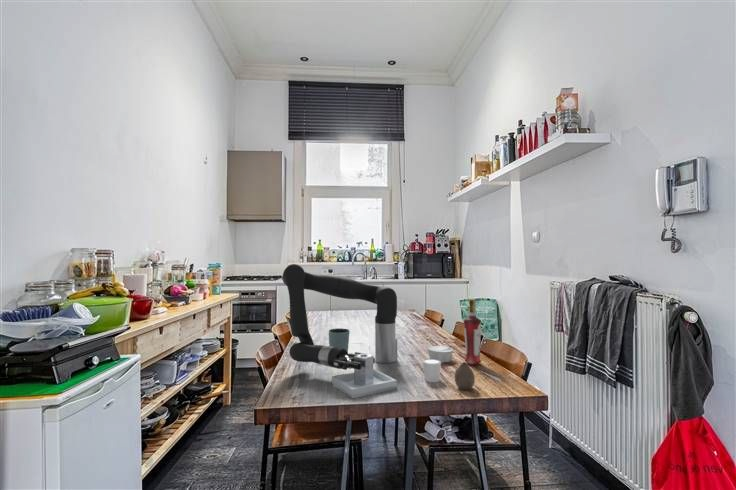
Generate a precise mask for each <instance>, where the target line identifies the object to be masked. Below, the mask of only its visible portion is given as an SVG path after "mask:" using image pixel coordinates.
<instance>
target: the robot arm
mask: <svg viewBox="0 0 736 490" xmlns="http://www.w3.org/2000/svg"><path fill="white" fill-rule="evenodd" d="M281 277H282V278H281V279H282V282H283V284H284V285H286V286H287V290H288V297H289V320H290V323H289V324H290V330H291V336H293V337H295V338H297V339H298V340H299V342H296V343H293V344H292V345H291V346H290V347H289V356H290V358H291V359H292V360H294V361H296V362H300V363H314V364H319V365H323V366H325V367H330V368H334V369H339V370H345V371H347V370H348V369H349V370H351V369H353V370H354V369H358V370H360V369H361V363H358V362H354V356H357V355H359V354H362V353H363V354H365V353H364V352H357V351H356V352H354V353H352V352H351V353H349V351H348V352H347V351H346V349H344V348H338V347H332V346H329V345H328V346H327V345H321V344H315V343H314V340H313V337H312V336H311V335H312V334H311V333H310V330H309V322H308V321H309V320H308V316H307V309H306V301H305V299H306V298H305V290H308V291H314V292H317V293H320V294H322V295H323V294H324V295H327V296H332V297H336V298H341V299H348V300H360V301H365V302H369V303H372V304H375V305H376V314H375V317H374V335H375V337H374V338H375V339H374V340H375V341H374V347H375V349H374V351H375V352H374V355H375V356H373V365H374V364H375V363H381V364H391V363H395V362H397V361H398V338H396V334H397V333H396V319H397V313H398V297H397V293H396V291H395V290H394V289H393V288H391V287H389V286H382V285H381V286H380V285H371V284H366V283H362V282H360V281H357V280H355V279H353V278H352V279H351V278H348V277H345V276H340V275H336V274H335V275H334V274H333V275H332V274H316V273H315V274H314V273H311V272H307V271H305V269H304V268H303V267H302V266H301V265H299V264H297V263H292V264H289V265H288V266H286V268H285V269H284V271H283V273H282V276H281ZM286 286H285V287H286Z"/></svg>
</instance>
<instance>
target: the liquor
mask: <svg viewBox="0 0 736 490" xmlns="http://www.w3.org/2000/svg"><path fill="white" fill-rule="evenodd" d="M468 305H469V307H468V308H469V309H468V310H469V312H468V317H466V318H464V319H463V328H464V329H463V332H464V344H465V347H464V348H465V359H464V362H465V363H468V365H469V366H478V365H479V364H481V363H482V360H481V336H482V333H481V332H482V331H481V330H482V320H481V319H480V318H478V317H477V314H476V308H475V307H476V299H474V298H473V299H472V298H471V299H470V298H469V299H468Z"/></svg>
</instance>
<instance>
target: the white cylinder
mask: <svg viewBox="0 0 736 490" xmlns="http://www.w3.org/2000/svg"><path fill="white" fill-rule="evenodd" d="M422 366H423V375H424V380H425V381H426V382H428V383H438V382H440V380H441V367H442V363H441V361H439V360H435V359H430V358H429V359H424V360H422Z"/></svg>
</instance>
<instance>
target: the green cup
mask: <svg viewBox="0 0 736 490" xmlns="http://www.w3.org/2000/svg"><path fill="white" fill-rule="evenodd" d="M349 342H350V329H348V328H331V329H329V330H328V344H329V345H328V346H332V347H338V348H344V349H346V351H347V352H348V353H349Z"/></svg>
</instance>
